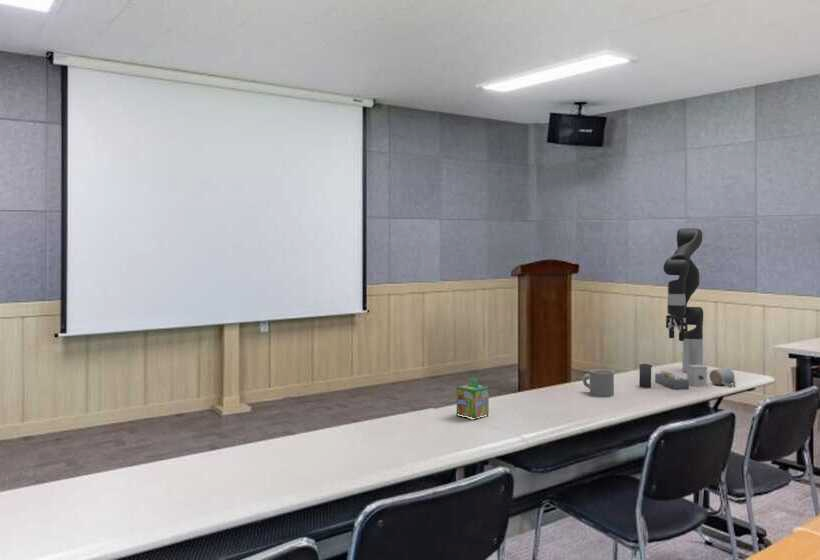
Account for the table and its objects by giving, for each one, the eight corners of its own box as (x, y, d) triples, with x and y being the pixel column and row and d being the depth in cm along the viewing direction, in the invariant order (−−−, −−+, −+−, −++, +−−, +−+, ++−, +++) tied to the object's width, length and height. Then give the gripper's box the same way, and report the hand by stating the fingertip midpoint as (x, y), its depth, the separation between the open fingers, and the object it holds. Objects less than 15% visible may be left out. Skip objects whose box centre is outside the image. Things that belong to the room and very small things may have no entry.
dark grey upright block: (637, 385, 290) (637, 363, 290) (648, 385, 290) (649, 363, 289) (641, 388, 285) (641, 366, 284) (653, 388, 285) (653, 366, 284)
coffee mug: (618, 394, 274) (618, 371, 274) (605, 397, 268) (605, 374, 267) (592, 389, 284) (591, 367, 284) (578, 392, 278) (578, 370, 278)
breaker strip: (655, 382, 298) (655, 370, 297) (669, 381, 298) (669, 369, 298) (673, 389, 281) (673, 377, 280) (688, 389, 281) (688, 376, 281)
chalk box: (455, 416, 242) (455, 378, 241) (471, 412, 248) (470, 374, 248) (474, 420, 235) (473, 381, 235) (489, 416, 242) (489, 377, 241)
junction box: (686, 383, 293) (686, 364, 293) (699, 383, 294) (699, 364, 293) (695, 386, 286) (695, 367, 285) (708, 386, 286) (708, 367, 286)
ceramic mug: (708, 383, 292) (708, 367, 292) (721, 382, 295) (721, 365, 294) (726, 388, 282) (726, 371, 282) (740, 386, 285) (740, 370, 284)
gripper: (660, 302, 290) (660, 337, 291) (676, 305, 276) (676, 342, 277) (676, 302, 291) (676, 337, 292) (693, 304, 277) (693, 341, 277)
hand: (676, 339), depth 284 cm, fingers open, 8 cm apart
